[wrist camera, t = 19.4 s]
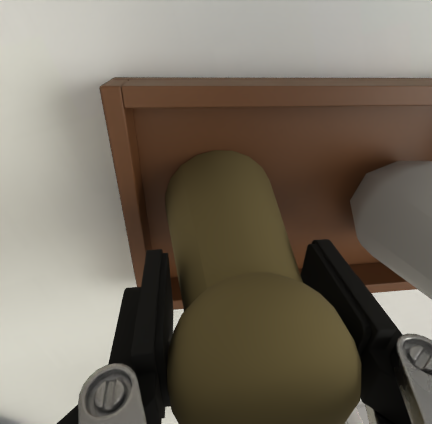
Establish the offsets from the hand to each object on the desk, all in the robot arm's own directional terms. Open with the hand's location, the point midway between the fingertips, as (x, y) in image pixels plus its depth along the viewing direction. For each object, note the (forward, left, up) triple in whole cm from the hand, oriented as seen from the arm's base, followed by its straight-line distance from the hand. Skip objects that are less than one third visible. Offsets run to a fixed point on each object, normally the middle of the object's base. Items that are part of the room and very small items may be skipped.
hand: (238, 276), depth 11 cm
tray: (-5, 0, -7) cm, 8 cm away
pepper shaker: (0, 0, -6) cm, 6 cm away
